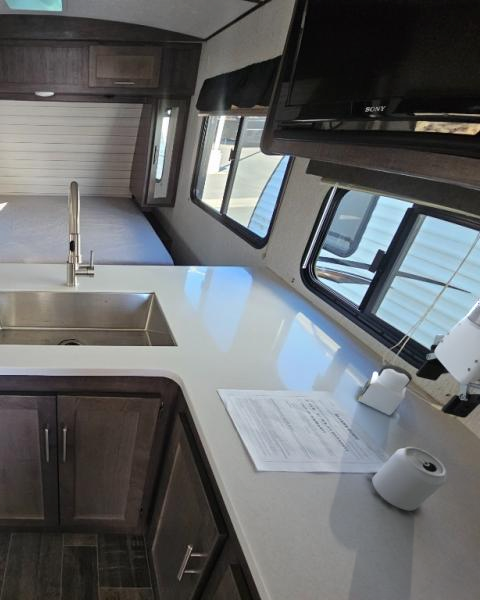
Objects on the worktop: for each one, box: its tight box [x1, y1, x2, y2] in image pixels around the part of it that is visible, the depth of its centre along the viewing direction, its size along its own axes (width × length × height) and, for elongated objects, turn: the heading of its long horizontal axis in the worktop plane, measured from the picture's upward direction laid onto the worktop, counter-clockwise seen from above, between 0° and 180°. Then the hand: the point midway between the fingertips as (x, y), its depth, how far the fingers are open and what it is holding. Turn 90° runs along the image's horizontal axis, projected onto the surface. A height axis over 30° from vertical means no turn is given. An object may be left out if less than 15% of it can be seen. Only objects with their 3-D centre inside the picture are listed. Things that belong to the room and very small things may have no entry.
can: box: [371, 446, 448, 511], centre depth 65 cm, size 8×8×12 cm
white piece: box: [358, 364, 413, 416], centre depth 88 cm, size 7×7×12 cm
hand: (438, 394), depth 61 cm, fingers open, 9 cm apart
